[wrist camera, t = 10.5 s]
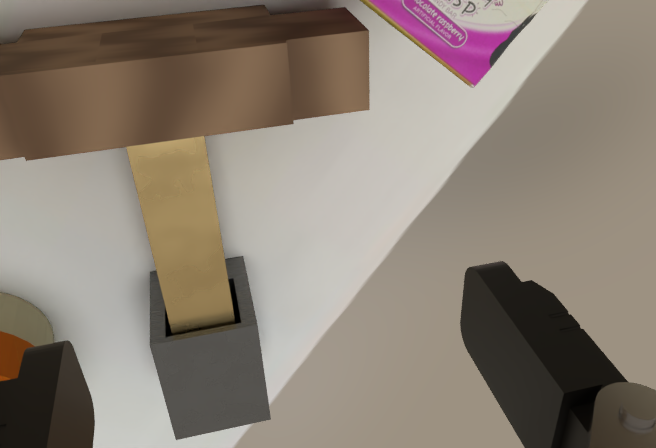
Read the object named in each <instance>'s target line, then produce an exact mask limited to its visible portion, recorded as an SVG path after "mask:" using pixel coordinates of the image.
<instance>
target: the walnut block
mask: <svg viewBox="0 0 656 448" xmlns="http://www.w3.org/2000/svg"><path fill="white" fill-rule="evenodd" d="M364 110H369V30H368V29H367V28H366V27H365V26H364V25H363V24H362V23H361V22H360V21H359V20H358V19H357V18H356V17H355V16H354V15H352V14H351V13H350V12H349V11H348V10H347V9H346V8H345V7H343V8H333V9H324V10H315V11H305V12H296V13H287V14H277V15H270V14H269V12H268V10H267V9H266V7H265V5H258V6H248V7H239V8H229V9H220V10H210V11H200V12H191V13H181V14H172V15H162V16H152V17H143V18H133V19H123V20H114V21H104V22H95V23H85V24H75V25H66V26H56V27H47V28H37V29H27V30H24V32H23V33H22V35H21V37H20V38H19V40H18V42H16V43H7V44H0V160H5V159H12V158H19V157H25V159H26V161H27V160H34V159H42V158H49V157H56V156H63V155H71V154H78V153H85V152H92V151H100V150H107V149H114V148H122V147H129V146H136V145H143V144H151V143H158V142H165V141H172V140H180V139H187V138H194V137H202V136H209V135H216V134H223V133H231V132H238V131H245V130H252V129H260V128H267V127H274V126H282V125H289V124H293V120H298V119H305V118H312V117H320V116H327V115H334V114H342V113H349V112H356V111H364Z"/></svg>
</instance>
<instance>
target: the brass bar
mask: <svg viewBox="0 0 656 448" xmlns="http://www.w3.org/2000/svg"><path fill="white" fill-rule="evenodd" d="M126 148H127V152H128V156H129V160H130V164H131V168H132V173H133V177H134V181H135V185H136V189H137V193H138V197H139V201H140V205H141V209H142V213H143V217H144V221H145V226H146V230H147V234H148V238H149V242H150V246H151V250H152V254H153V258H154V262H155V266H156V270H157V274H158V279H159V283H160V287H161V291H162V295H163V299H164V303H165V307H166V311H167V315H168V319H169V323H170V327H171V332H172V336H174V335H180V334H185V333H190V332H196V331H201V330H206V329H211V328H217V327H222V326H227V325H233V324H236V323H235V317H234V311H233V305H232V299H231V293H230V287H229V281H228V275H227V269H226V263H225V257H224V251H223V245H222V239H221V233H220V227H219V222H218V216H217V210H216V204H215V198H214V192H213V186H212V180H211V174H210V168H209V162H208V156H207V150H206V144H205V138H204V136H202V137H194V138H187V139H180V140H172V141H165V142H158V143H151V144H143V145H136V146H129V147H126Z"/></svg>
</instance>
